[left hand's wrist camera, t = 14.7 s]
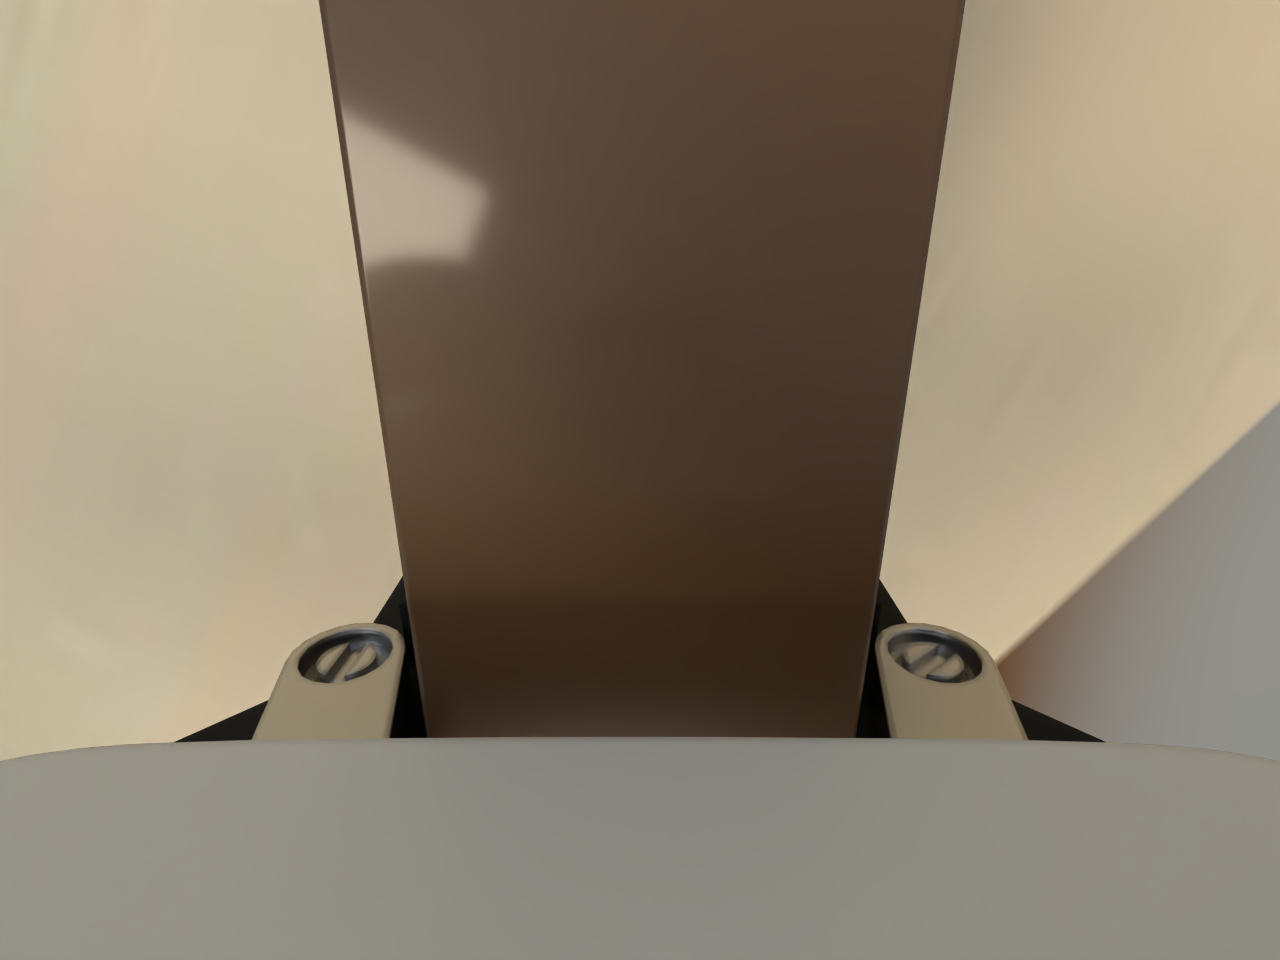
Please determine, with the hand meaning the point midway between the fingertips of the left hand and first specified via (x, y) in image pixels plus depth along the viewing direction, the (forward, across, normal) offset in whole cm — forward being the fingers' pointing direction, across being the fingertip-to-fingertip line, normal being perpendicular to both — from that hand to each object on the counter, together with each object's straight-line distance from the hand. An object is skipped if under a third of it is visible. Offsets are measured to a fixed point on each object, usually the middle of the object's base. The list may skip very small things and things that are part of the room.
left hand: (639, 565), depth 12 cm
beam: (+2, 0, -27) cm, 28 cm away
